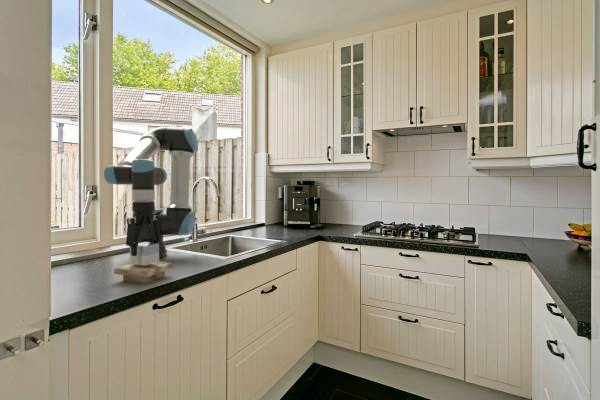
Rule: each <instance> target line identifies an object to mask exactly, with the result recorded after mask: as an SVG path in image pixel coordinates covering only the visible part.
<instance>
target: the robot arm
mask: <svg viewBox="0 0 600 400" xmlns="http://www.w3.org/2000/svg"><path fill="white" fill-rule="evenodd" d="M198 148H199V143H198V138H197V133H196V131H195V130H194V128H192V127H186V126H183V127H182V126H181V127H180V126H177V127H175V126H160V127H156V128H153V129H151V130H149V131H148V132H146V133H144V134H143V135H142V136H141V137H140V139H139V142H138V143H137V145H136V146H135V147H134V148H133V149H132V150H131V151H130V152H129V153H127V155H125V156H124V158H122V160H121V161H120V162H119V163H118V164H117V165H115V164H113V165H107V166H106V167H105V168H104V171H103V177H104V180H105V182H106V183H107V184H110V185H118V186H119V185H122V186H123V185H125V186H127V185H128V186H129V185H132V188H131V192H132V193H131V194H132V195H131V199H132V206H131V209H132V212H133V216H132V217H131V218H129V217H127V218H126V224H127V228H126V239H125V240H126V241H125V245H126V246H127V247H130V246H131V255H132V264H137V265H139V264H140V247H138V243H142V242H150V243H159V259H162V258H165V257H166V256H167V257H168V250H167V249H166V248H167V247H166V245H165V242H164V236H179V237H181V236H188V235H190V234H191V233H192V232H193V230H194V227H195V223H196V213H195V212H194V211H192V207H191V206H190V205H189V204H190V203H189V198H190V174H191V172H190V171H191V158H192V157H193V156H194V154H195V153H194V152H196V151H198ZM160 151H168V154H170V156H171V171H170V172H171V173H170V174H171V176H170V195H169V197H170V198H169V205H168V206H166V209H165V210H166V211H164V209H163V208H155V206H156V205H155V199H156V198H155V186H160V185H163V184H164V183H165V182H166V181H167V178H168V173H167V171H166V169H165V168H163V167H161V166H158V165H155V161H154V160H152V159H150V158H151V157H152V156H153V155H154V154H158V152H160Z"/></svg>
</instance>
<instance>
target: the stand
mask: <svg viewBox="0 0 600 400" xmlns="http://www.w3.org/2000/svg"><path fill="white" fill-rule="evenodd" d="M171 269H173V263H172V262H166V261H159V262H155V263H152V264H149V265H146V266H144V265H135V264H130V263H128V264H125V265H121V266H118V267H115V268H114V269H113V272H114V275H120V276H122V280H123V282H127V283H129V282H130V283H136V284H142V285H146V284H149V283H151V282H154V281H156V280H158V279H162V278H164V277H165V275H166V274H165V272H166V271H168V270H171Z"/></svg>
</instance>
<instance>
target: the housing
mask: <svg viewBox="0 0 600 400" xmlns="http://www.w3.org/2000/svg"><path fill="white" fill-rule="evenodd" d="M138 247H140V264H139V265H144V266H146V265H149V264H152V263H155V262H160V258H159V243H150V242H142V243H138ZM129 264H132V255H131V246H129ZM135 265H137V264H135Z"/></svg>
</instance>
